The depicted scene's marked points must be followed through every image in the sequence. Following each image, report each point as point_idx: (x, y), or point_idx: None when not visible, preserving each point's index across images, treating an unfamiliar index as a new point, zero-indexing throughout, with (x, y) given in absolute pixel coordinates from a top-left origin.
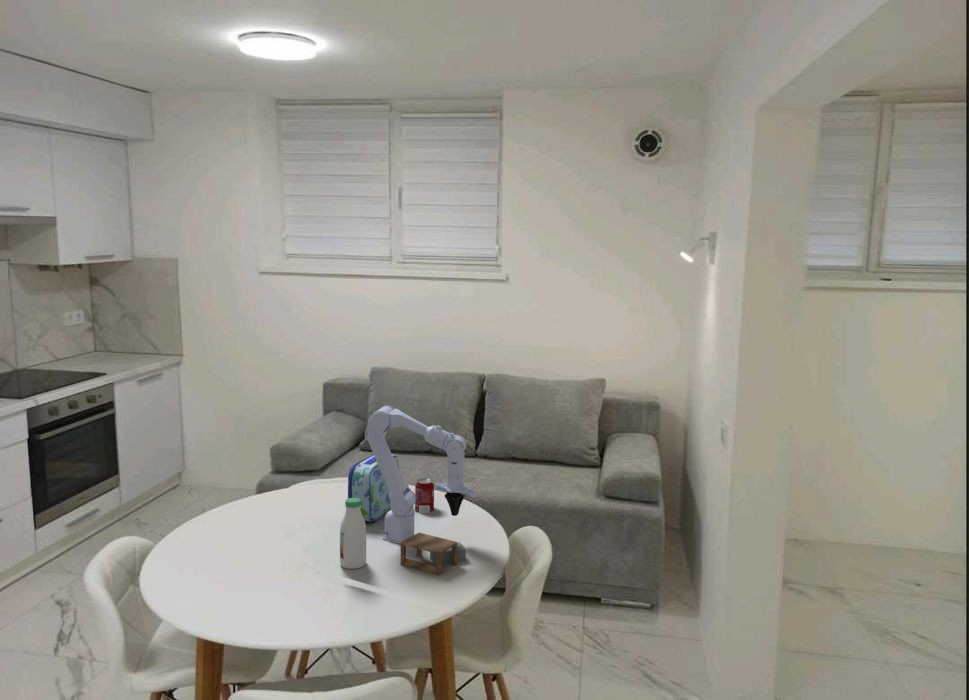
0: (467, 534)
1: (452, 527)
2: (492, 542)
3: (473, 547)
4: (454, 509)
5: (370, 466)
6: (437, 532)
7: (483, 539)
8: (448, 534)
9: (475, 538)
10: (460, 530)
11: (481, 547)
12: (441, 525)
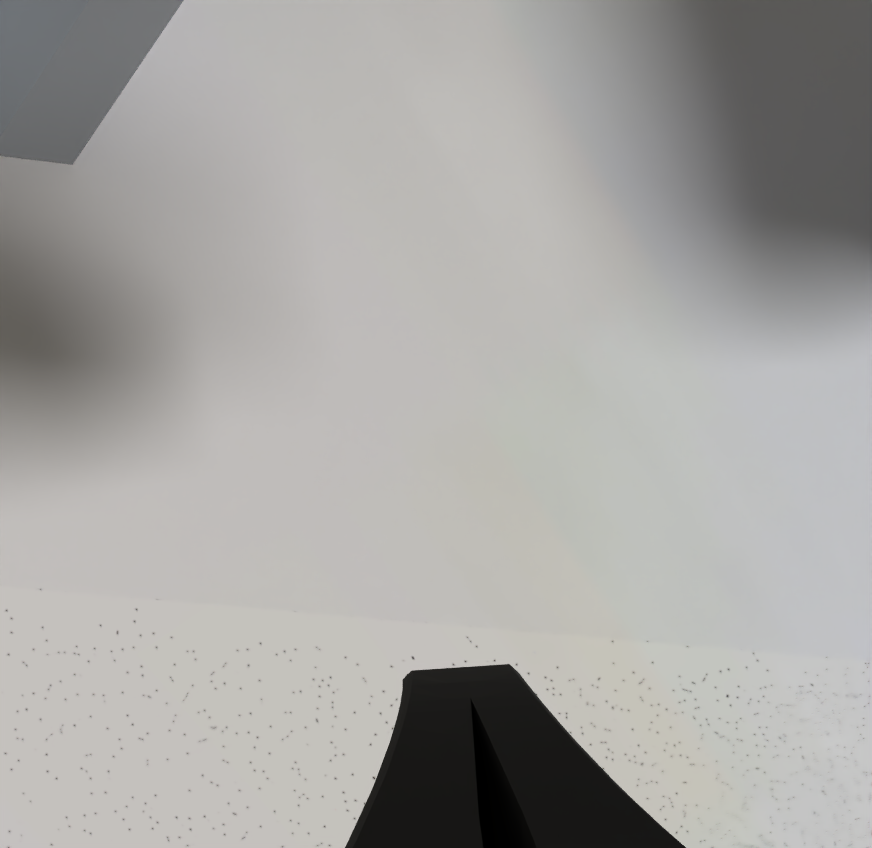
0: None
1: (705, 842)
2: (21, 762)
3: (110, 499)
4: (405, 769)
5: None
6: (788, 629)
7: (175, 772)
8: (636, 655)
9: (277, 742)
10: None
11: (24, 559)
12: (848, 816)
